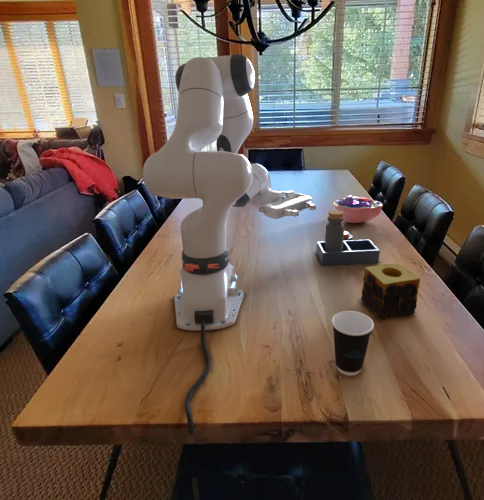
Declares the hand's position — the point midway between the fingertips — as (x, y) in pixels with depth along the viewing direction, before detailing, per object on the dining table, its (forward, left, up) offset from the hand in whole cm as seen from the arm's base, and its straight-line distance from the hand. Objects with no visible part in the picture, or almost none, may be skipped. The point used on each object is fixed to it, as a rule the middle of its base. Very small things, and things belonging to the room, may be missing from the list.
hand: (306, 210), depth 126 cm
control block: (+3, -14, -14) cm, 20 cm away
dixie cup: (-61, +2, -14) cm, 63 cm away
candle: (-40, -14, -14) cm, 45 cm away
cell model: (+26, -26, -14) cm, 40 cm away
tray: (-9, -12, -14) cm, 21 cm away
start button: (+3, -14, -11) cm, 19 cm away
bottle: (-9, -8, -13) cm, 18 cm away
